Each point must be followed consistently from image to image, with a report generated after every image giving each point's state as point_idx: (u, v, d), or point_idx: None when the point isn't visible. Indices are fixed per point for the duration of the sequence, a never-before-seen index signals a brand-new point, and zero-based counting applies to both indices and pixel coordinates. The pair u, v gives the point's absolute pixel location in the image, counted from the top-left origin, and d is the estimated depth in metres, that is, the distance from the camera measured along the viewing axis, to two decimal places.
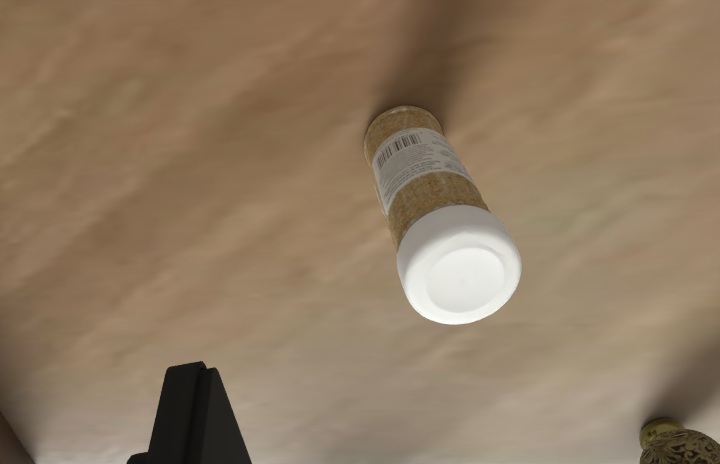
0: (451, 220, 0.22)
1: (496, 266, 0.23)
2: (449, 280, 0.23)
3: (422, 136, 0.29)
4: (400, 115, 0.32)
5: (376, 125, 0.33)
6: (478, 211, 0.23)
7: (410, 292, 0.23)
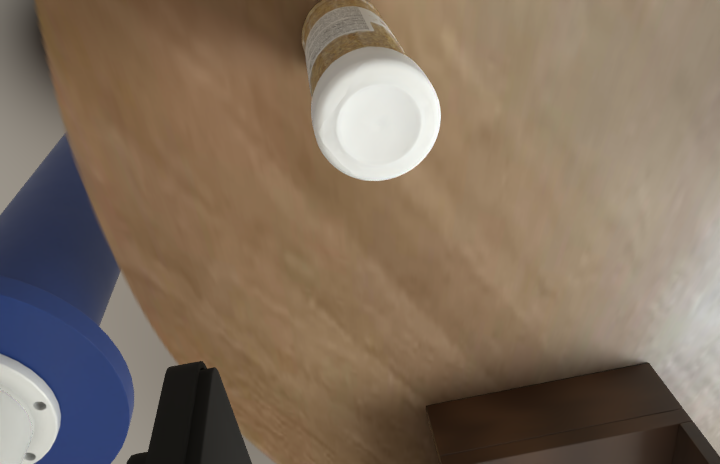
0: None
1: (363, 94, 0.21)
2: (377, 141, 0.22)
3: None
4: None
5: None
6: (313, 96, 0.22)
7: (388, 177, 0.22)
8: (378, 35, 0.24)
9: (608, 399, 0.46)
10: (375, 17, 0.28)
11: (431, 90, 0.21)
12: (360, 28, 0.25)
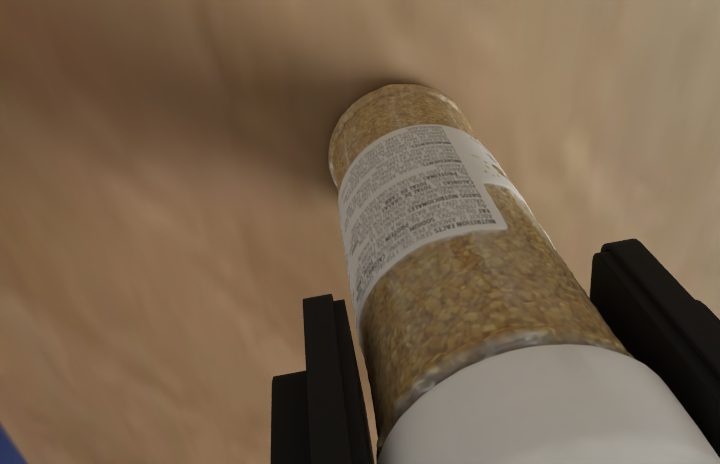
0: None
1: None
2: None
3: (341, 227, 0.15)
4: None
5: None
6: None
7: None
8: (521, 244, 0.11)
9: None
10: (481, 155, 0.14)
11: None
12: (474, 218, 0.11)
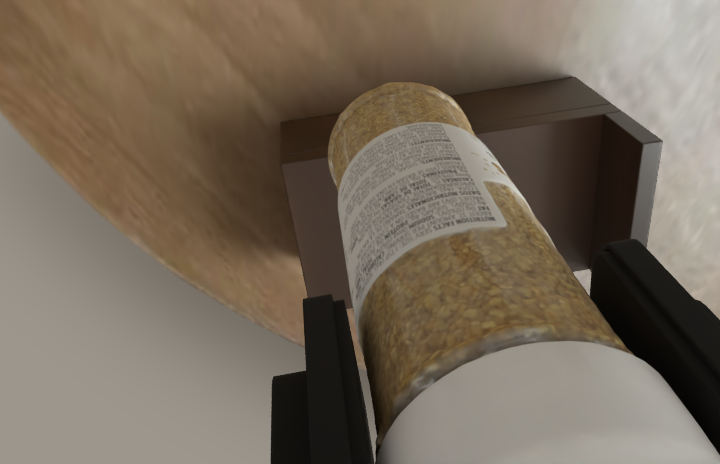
0: None
1: None
2: None
3: (341, 224, 0.15)
4: None
5: None
6: None
7: None
8: (520, 241, 0.10)
9: (516, 103, 0.34)
10: (481, 153, 0.14)
11: None
12: (474, 215, 0.11)
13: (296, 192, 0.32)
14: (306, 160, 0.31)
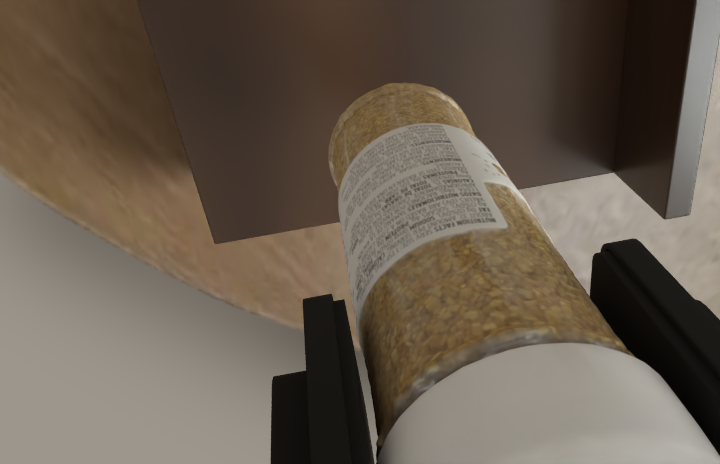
0: None
1: None
2: None
3: (341, 226, 0.15)
4: None
5: None
6: None
7: None
8: (521, 242, 0.10)
9: None
10: (481, 154, 0.14)
11: None
12: (474, 217, 0.11)
13: (165, 44, 0.21)
14: None
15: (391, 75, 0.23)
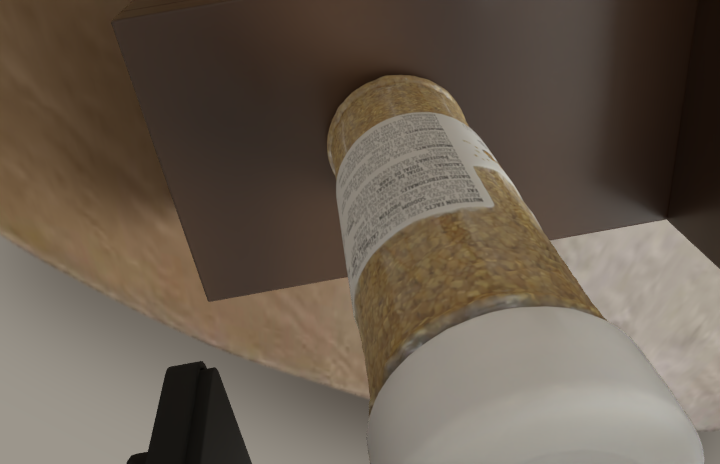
0: None
1: None
2: None
3: (339, 210, 0.16)
4: None
5: None
6: (377, 423, 0.09)
7: None
8: (506, 220, 0.11)
9: None
10: (472, 141, 0.15)
11: (697, 446, 0.08)
12: (463, 197, 0.12)
13: (148, 78, 0.18)
14: (158, 13, 0.17)
15: None
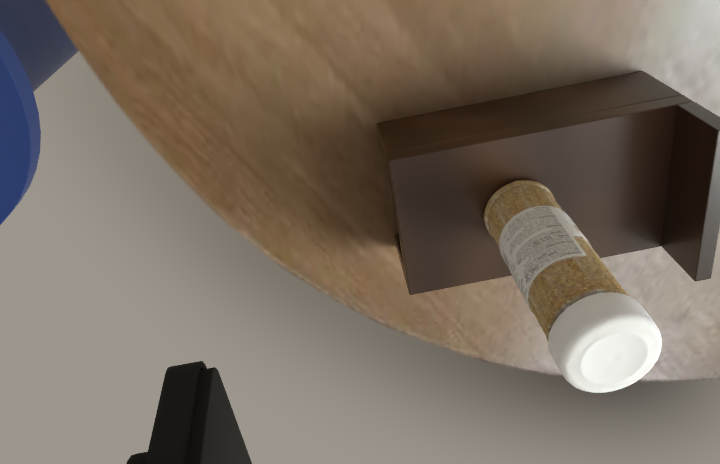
0: (556, 360, 0.27)
1: (606, 339, 0.26)
2: (609, 368, 0.27)
3: (505, 251, 0.34)
4: (490, 228, 0.37)
5: None
6: (556, 330, 0.27)
7: (613, 390, 0.28)
8: (591, 260, 0.30)
9: (592, 98, 0.38)
10: (568, 221, 0.33)
11: (658, 333, 0.26)
12: (573, 251, 0.30)
13: (400, 185, 0.36)
14: (411, 156, 0.36)
15: None
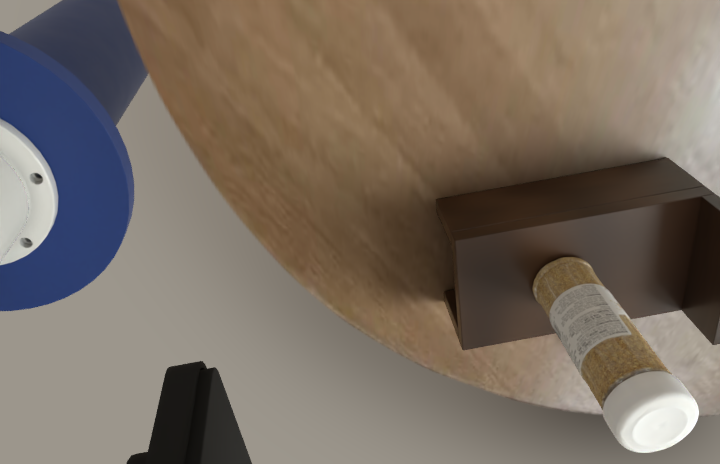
0: (611, 426, 0.33)
1: (655, 412, 0.32)
2: (655, 434, 0.33)
3: (556, 322, 0.40)
4: (539, 297, 0.43)
5: None
6: (611, 402, 0.33)
7: (656, 450, 0.34)
8: (636, 339, 0.35)
9: (626, 184, 0.44)
10: (612, 299, 0.39)
11: (696, 406, 0.32)
12: (620, 330, 0.36)
13: (463, 260, 0.42)
14: (474, 237, 0.41)
15: None
